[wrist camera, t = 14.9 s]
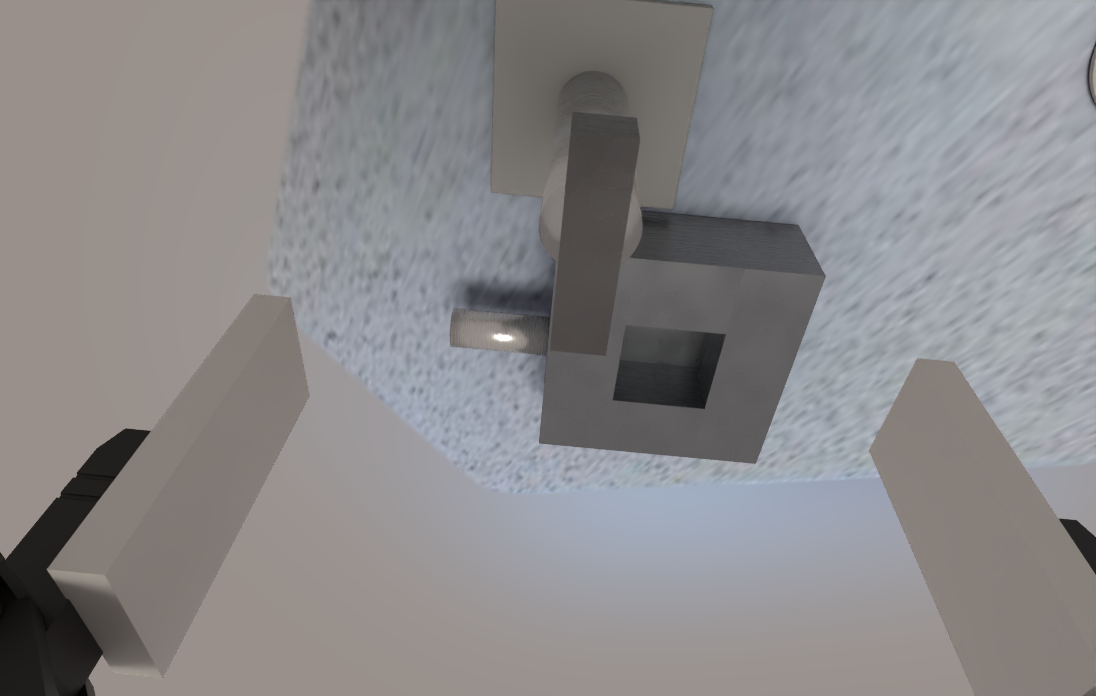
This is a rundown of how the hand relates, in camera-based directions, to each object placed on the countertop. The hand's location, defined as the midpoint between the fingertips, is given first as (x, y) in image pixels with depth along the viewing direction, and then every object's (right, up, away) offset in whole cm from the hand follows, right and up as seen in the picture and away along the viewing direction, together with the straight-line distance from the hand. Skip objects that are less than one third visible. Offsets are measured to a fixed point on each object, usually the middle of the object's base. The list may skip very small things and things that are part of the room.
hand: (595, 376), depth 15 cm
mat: (+1, +12, +16) cm, 20 cm away
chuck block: (+3, +3, +23) cm, 23 cm away
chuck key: (+1, +11, +16) cm, 20 cm away
